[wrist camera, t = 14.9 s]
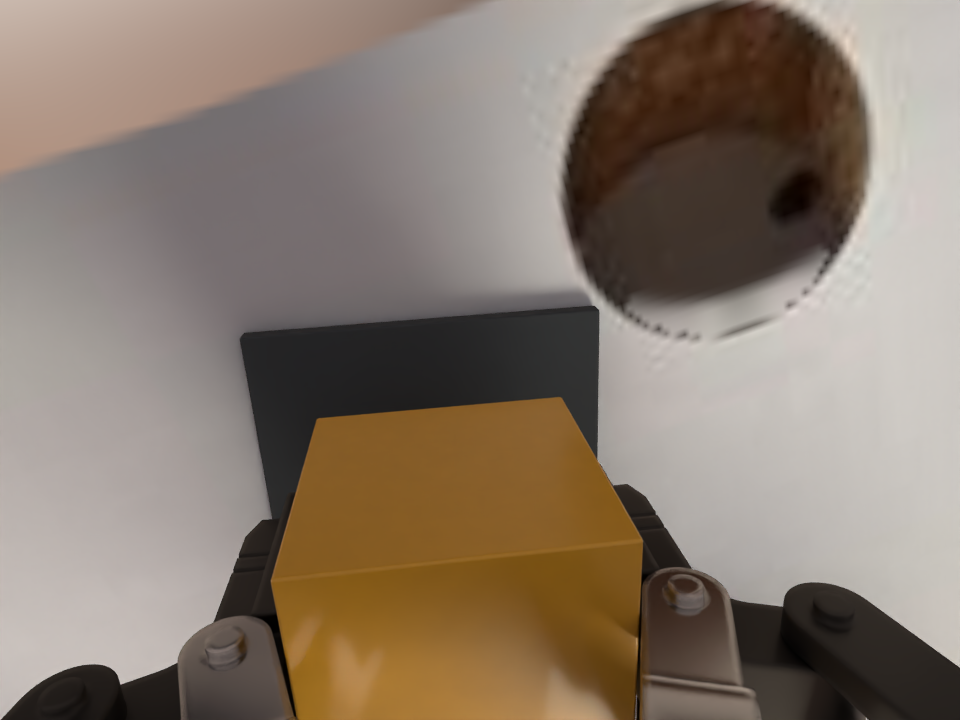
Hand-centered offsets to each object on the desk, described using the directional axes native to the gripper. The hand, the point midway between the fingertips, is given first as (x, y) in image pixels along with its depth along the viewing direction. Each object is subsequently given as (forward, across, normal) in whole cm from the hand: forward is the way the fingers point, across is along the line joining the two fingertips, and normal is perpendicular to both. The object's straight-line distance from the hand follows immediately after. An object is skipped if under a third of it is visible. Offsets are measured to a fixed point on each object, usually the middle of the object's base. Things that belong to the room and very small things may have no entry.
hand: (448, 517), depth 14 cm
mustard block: (0, 0, 0) cm, 0 cm away
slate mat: (+3, 0, 0) cm, 3 cm away
